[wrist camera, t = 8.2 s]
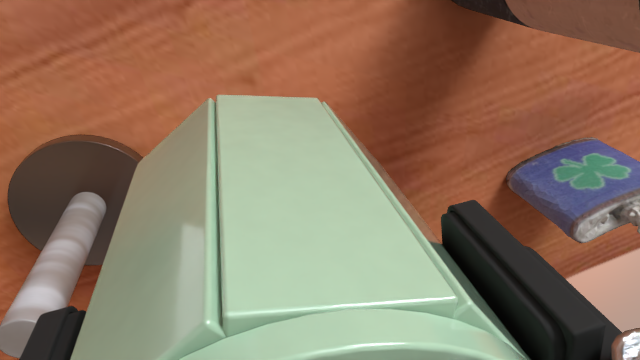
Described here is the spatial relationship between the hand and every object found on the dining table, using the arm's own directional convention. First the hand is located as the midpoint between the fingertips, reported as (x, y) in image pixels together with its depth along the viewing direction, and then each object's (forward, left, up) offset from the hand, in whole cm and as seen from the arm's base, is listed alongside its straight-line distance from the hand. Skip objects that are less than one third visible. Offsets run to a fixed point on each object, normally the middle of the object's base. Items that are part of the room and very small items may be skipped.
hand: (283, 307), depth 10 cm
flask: (+15, +24, -25) cm, 38 cm away
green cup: (0, 0, -4) cm, 4 cm away
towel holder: (+7, -13, -25) cm, 29 cm away
